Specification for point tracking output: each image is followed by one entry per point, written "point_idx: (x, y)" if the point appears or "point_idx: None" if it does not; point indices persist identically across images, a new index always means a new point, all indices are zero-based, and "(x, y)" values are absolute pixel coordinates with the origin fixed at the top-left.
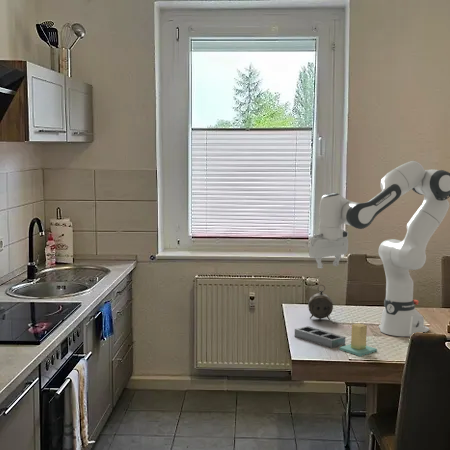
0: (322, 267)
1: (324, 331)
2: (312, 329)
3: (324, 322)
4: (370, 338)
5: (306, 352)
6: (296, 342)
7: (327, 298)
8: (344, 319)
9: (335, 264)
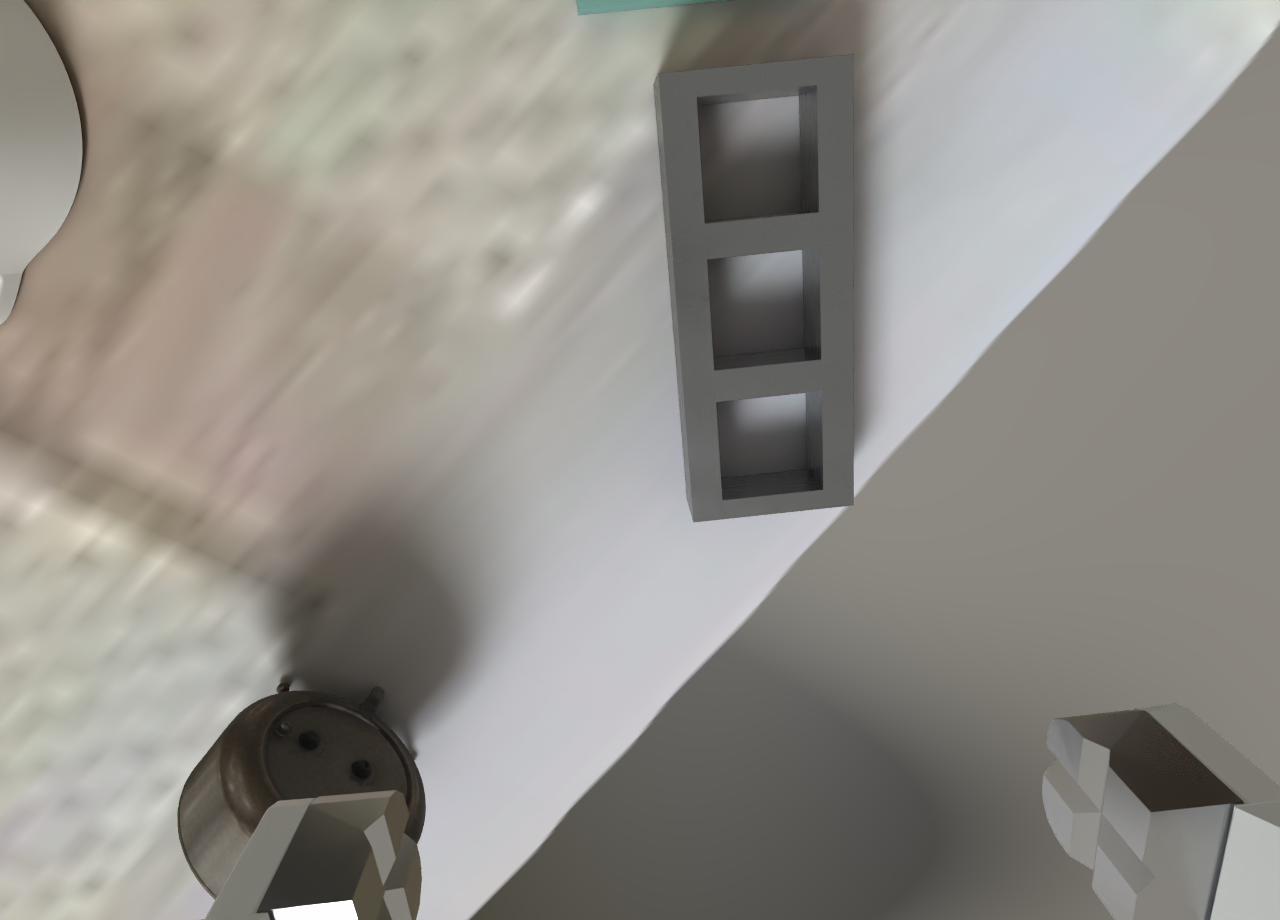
0: (1098, 721)
1: (692, 326)
2: (717, 442)
3: (368, 650)
4: (310, 99)
5: (1084, 101)
6: (941, 355)
7: (249, 805)
8: (155, 641)
9: (387, 846)
